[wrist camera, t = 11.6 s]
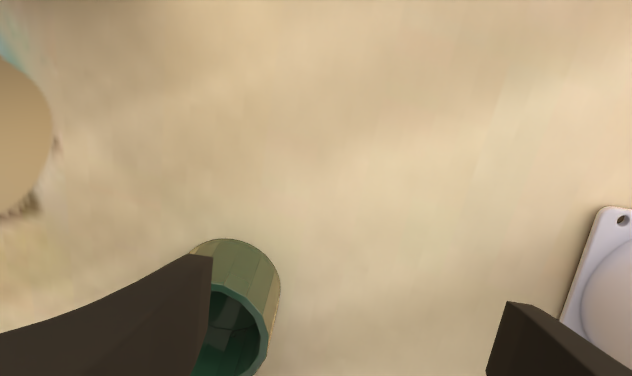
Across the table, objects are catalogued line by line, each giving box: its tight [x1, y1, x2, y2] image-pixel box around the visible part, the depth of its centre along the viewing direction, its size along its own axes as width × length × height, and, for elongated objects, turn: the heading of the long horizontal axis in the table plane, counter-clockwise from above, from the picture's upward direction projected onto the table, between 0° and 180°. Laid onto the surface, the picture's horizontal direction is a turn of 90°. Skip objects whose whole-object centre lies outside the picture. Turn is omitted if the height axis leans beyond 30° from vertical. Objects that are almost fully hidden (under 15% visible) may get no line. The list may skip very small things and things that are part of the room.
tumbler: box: [189, 239, 280, 376], centre depth 21 cm, size 5×5×4 cm
